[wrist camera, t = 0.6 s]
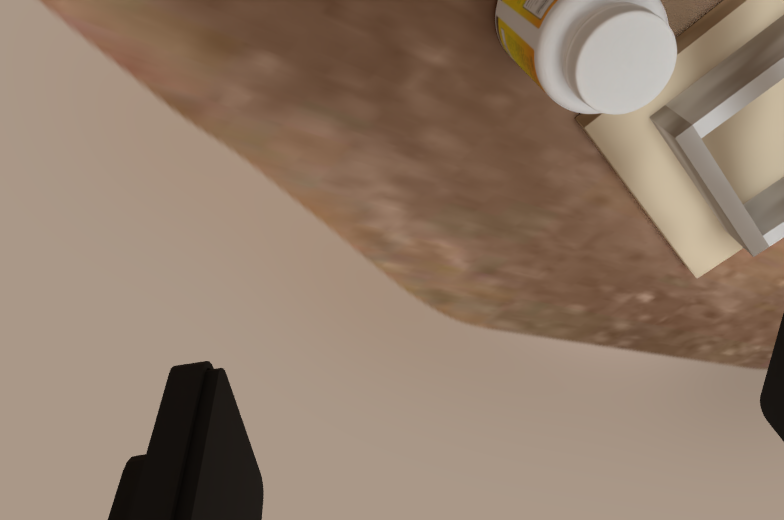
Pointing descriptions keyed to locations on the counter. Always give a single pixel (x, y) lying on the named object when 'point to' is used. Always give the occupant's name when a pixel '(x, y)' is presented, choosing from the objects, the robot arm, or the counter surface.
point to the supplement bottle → (591, 50)
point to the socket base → (710, 138)
